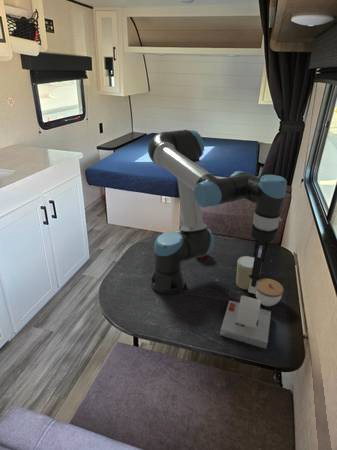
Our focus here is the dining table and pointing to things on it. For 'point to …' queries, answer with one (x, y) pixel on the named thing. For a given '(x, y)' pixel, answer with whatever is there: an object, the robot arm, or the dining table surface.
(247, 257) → the coffee cup
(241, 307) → the plug
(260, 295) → the lidded jar
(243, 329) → the socket
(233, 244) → the dining table surface
